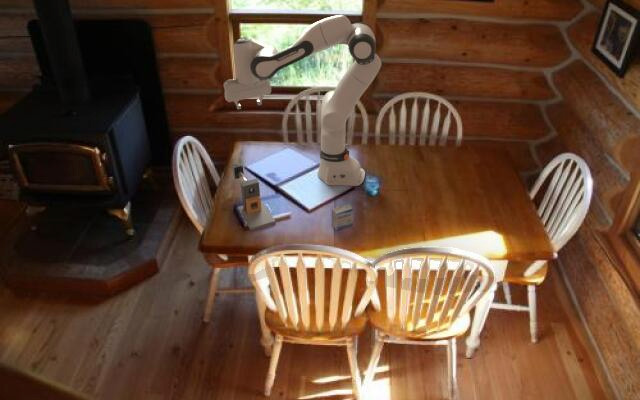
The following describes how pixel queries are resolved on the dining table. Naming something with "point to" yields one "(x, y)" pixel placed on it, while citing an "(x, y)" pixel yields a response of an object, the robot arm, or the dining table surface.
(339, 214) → the medicine box
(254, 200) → the spacer
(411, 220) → the dining table surface
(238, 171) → the shaft
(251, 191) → the bearing stand
